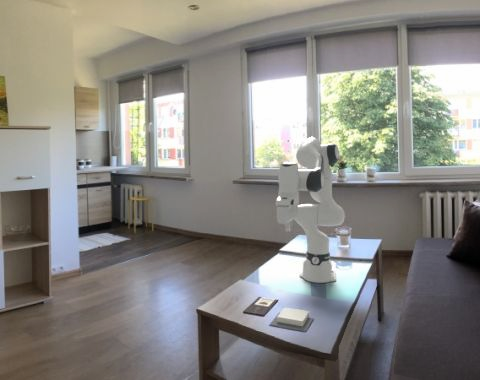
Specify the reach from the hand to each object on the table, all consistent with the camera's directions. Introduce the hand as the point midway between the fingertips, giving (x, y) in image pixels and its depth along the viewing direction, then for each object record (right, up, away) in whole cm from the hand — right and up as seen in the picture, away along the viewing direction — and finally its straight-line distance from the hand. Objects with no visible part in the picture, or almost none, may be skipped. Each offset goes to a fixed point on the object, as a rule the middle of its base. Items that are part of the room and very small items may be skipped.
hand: (288, 231), depth 166 cm
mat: (-1, -33, -20) cm, 38 cm away
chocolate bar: (-12, -32, -4) cm, 35 cm away
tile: (+2, -31, -13) cm, 34 cm away
